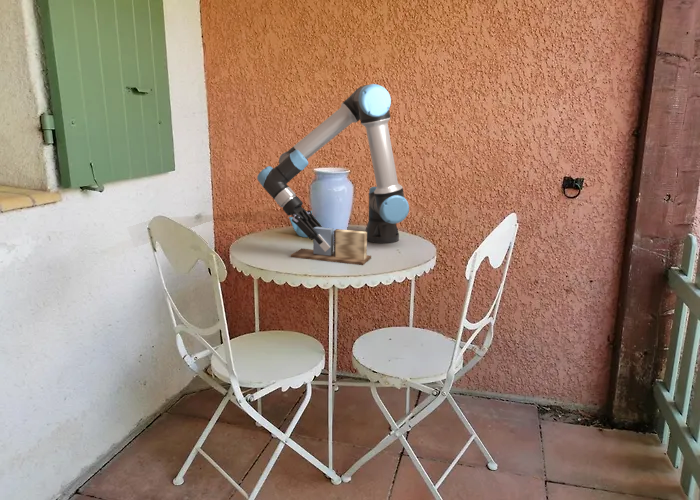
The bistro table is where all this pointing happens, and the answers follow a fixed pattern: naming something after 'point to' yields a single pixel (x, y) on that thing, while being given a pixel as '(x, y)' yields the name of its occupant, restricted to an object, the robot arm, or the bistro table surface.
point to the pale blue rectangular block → (328, 237)
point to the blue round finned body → (298, 228)
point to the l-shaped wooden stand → (342, 249)
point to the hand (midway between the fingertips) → (329, 248)
